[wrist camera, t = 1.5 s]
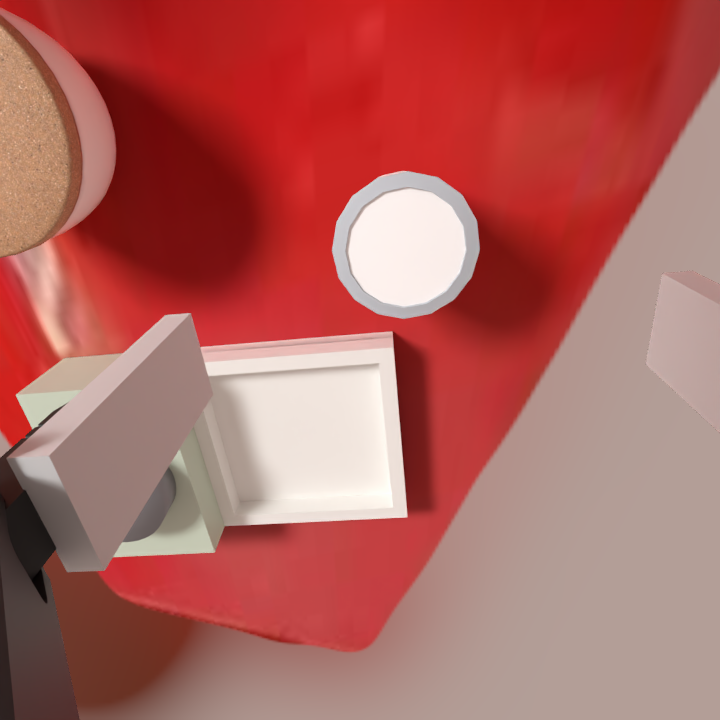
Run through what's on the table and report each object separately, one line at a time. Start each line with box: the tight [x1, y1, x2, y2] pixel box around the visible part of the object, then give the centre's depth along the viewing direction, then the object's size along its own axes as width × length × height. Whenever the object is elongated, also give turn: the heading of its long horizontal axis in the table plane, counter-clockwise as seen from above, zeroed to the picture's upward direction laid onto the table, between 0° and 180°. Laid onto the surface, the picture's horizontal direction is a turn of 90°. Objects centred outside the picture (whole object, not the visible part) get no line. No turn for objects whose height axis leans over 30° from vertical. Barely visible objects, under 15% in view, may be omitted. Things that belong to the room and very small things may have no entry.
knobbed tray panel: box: [16, 331, 407, 557], centre depth 33 cm, size 14×23×7 cm, turn 96°
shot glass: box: [332, 171, 480, 319], centre depth 25 cm, size 7×7×7 cm
